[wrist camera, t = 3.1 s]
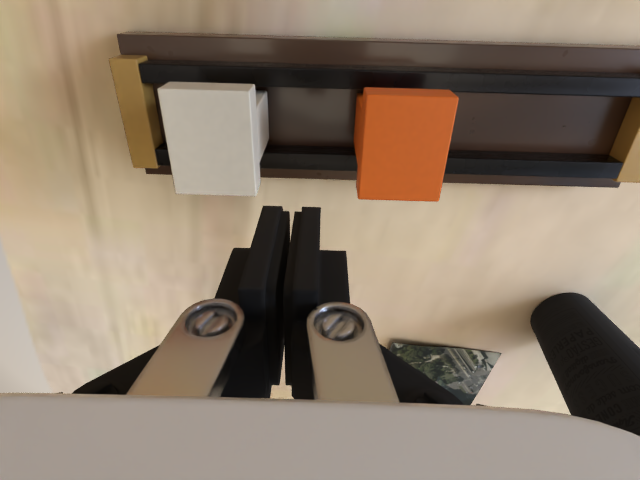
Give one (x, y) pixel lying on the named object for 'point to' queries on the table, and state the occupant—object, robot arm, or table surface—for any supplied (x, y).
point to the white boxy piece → (215, 136)
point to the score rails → (151, 152)
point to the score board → (473, 108)
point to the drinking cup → (590, 360)
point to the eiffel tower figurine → (450, 367)
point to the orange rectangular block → (402, 142)
